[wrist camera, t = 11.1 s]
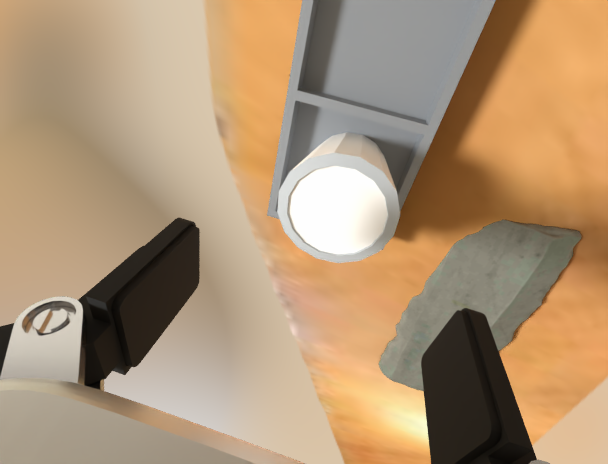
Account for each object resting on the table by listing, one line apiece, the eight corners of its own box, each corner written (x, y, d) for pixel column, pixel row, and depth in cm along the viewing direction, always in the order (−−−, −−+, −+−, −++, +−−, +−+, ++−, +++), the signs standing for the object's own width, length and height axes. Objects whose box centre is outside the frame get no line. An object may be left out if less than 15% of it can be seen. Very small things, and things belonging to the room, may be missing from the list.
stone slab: (375, 356, 37) (460, 391, 35) (372, 375, 34) (462, 414, 32) (457, 192, 25) (593, 231, 23) (460, 205, 22) (611, 250, 20)
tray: (276, 202, 26) (267, 215, 24) (329, -99, 16) (322, -121, 14) (382, 233, 26) (382, 250, 24) (509, -58, 15) (529, -75, 13)
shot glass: (346, 100, 20) (332, 123, 14) (416, 170, 21) (429, 217, 16) (285, 171, 24) (253, 212, 18) (348, 226, 25) (338, 282, 19)
